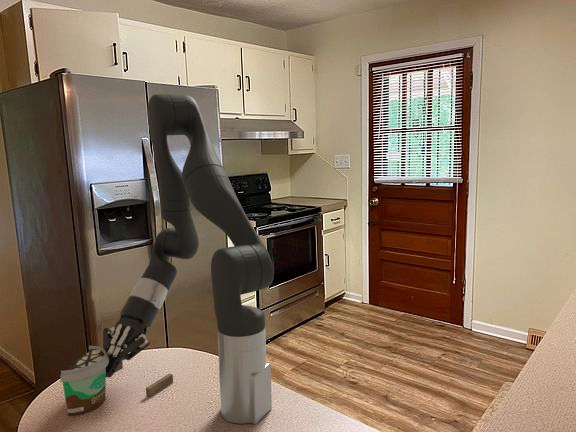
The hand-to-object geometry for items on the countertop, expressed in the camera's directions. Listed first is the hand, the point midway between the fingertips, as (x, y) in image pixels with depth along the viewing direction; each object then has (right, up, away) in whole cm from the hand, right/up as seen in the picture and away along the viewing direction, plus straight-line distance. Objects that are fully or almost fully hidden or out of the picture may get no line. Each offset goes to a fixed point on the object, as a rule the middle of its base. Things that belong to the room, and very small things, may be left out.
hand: (104, 375), depth 93 cm
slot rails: (+4, -4, +7) cm, 9 cm away
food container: (-1, -5, -2) cm, 6 cm away
